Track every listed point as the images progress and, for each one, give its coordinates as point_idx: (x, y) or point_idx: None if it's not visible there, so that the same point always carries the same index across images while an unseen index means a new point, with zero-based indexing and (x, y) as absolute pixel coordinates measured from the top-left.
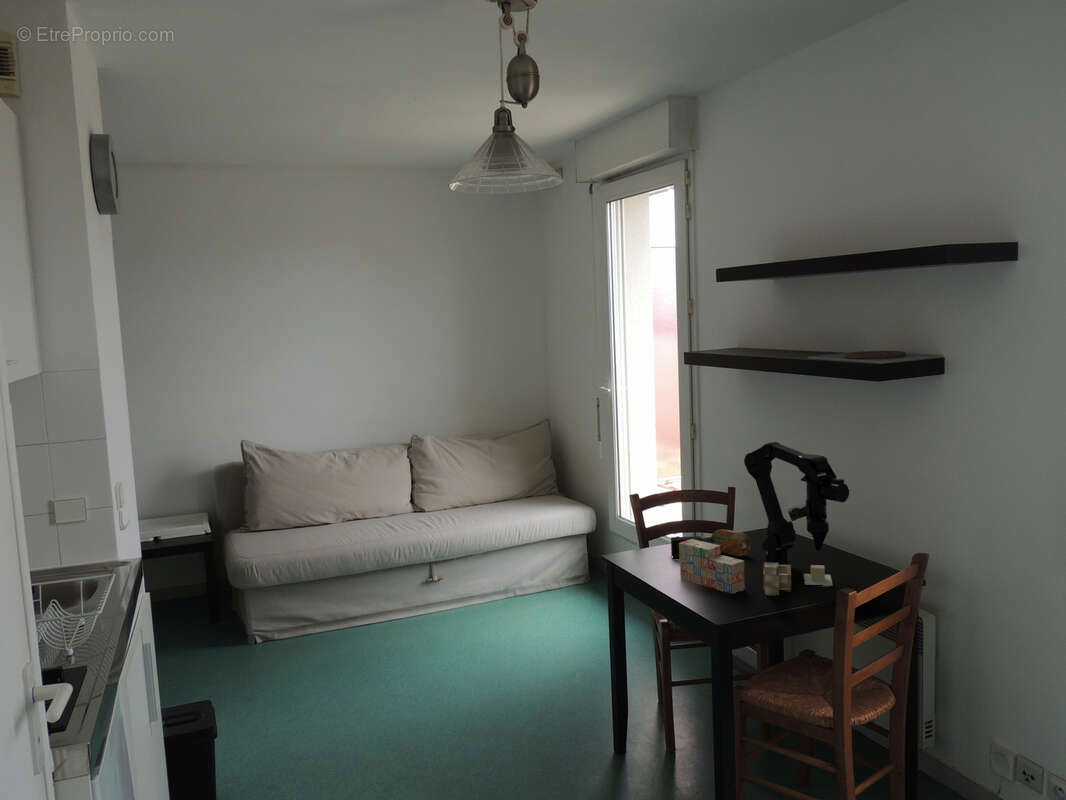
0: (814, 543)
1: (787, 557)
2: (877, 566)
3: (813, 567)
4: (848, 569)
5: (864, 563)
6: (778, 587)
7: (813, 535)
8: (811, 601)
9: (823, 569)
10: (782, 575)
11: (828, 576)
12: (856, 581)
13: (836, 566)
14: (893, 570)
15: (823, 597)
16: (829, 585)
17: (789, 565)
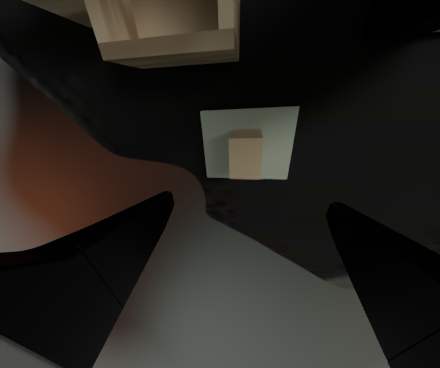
0: (128, 208)
1: (438, 12)
2: None
3: (235, 147)
4: None
5: None
6: (63, 15)
7: (40, 252)
8: (97, 126)
9: (230, 173)
10: (91, 17)
11: (270, 174)
12: (248, 219)
13: (373, 198)
14: (317, 276)
15: (133, 152)
16: (207, 170)
17: (228, 42)
